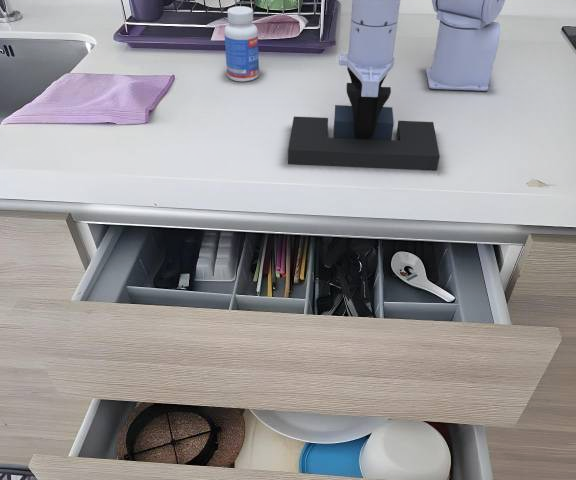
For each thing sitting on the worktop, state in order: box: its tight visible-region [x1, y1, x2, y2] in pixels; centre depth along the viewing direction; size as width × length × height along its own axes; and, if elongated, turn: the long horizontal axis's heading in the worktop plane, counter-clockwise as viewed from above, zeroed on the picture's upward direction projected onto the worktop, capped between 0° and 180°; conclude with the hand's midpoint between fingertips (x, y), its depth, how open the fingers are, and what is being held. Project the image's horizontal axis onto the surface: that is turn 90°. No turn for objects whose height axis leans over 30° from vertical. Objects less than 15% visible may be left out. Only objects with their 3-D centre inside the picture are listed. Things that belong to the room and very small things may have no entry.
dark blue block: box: [332, 104, 395, 140], centre depth 81 cm, size 8×5×4 cm, turn 85°
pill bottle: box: [223, 5, 260, 82], centre depth 95 cm, size 6×5×10 cm
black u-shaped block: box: [287, 115, 440, 171], centre depth 81 cm, size 20×10×2 cm, turn 85°
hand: (363, 128), depth 81 cm, fingers closed on dark blue block, 5 cm apart
